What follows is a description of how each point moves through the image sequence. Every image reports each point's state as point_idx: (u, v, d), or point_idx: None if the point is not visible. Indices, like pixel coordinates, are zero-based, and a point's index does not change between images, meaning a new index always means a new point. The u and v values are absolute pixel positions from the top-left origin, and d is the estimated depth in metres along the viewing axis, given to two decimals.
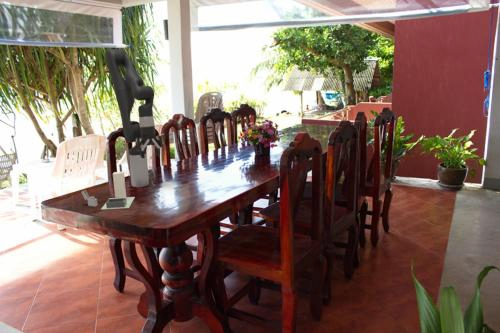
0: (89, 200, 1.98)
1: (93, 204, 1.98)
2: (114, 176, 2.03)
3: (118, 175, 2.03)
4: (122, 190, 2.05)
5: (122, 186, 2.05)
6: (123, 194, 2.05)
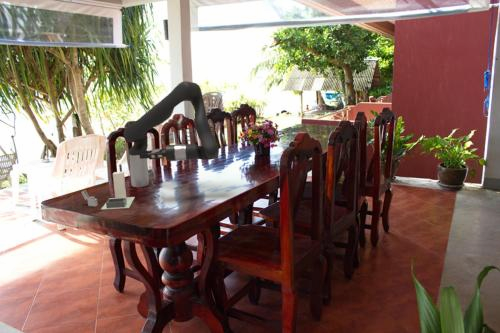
0: (89, 200, 1.98)
1: (93, 204, 1.98)
2: (114, 176, 2.03)
3: (118, 175, 2.03)
4: (122, 190, 2.05)
5: (122, 186, 2.05)
6: (123, 194, 2.05)
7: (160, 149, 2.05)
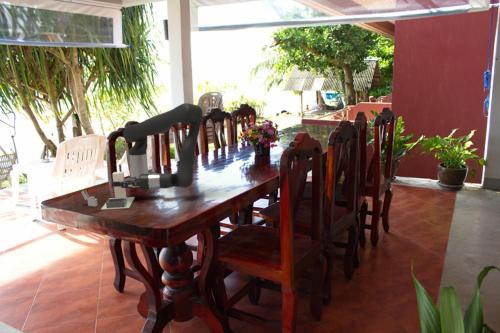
0: (89, 200, 1.98)
1: (93, 204, 1.98)
2: (114, 176, 2.03)
3: (118, 175, 2.03)
4: (122, 190, 2.05)
5: None
6: (123, 194, 2.05)
7: (135, 178, 2.07)
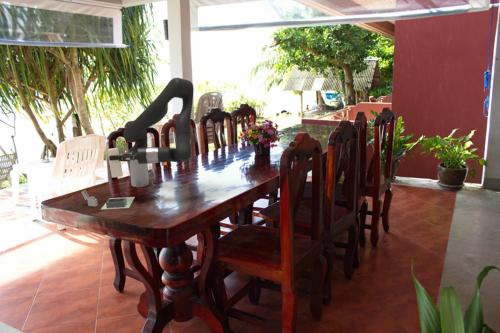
0: (89, 200, 1.98)
1: (93, 204, 1.98)
2: (108, 152, 2.00)
3: (113, 151, 2.00)
4: (118, 166, 2.01)
5: (117, 162, 2.01)
6: (119, 170, 2.02)
7: (133, 151, 2.03)
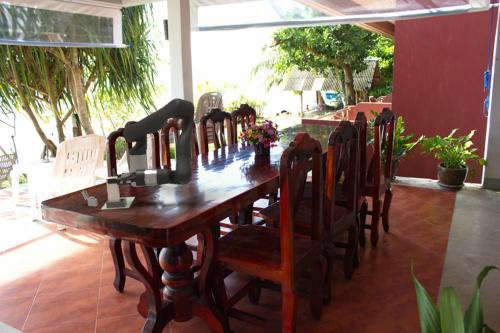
0: (89, 200, 1.98)
1: (93, 204, 1.98)
2: None
3: None
4: (116, 196, 1.95)
5: (116, 191, 1.95)
6: (117, 200, 1.96)
7: (130, 173, 1.96)
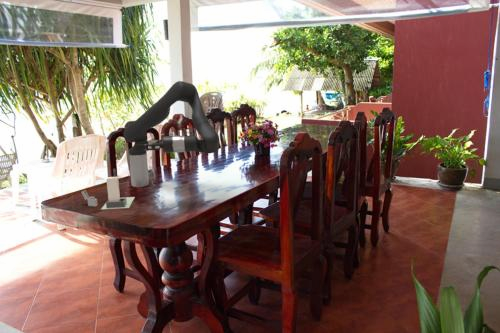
0: (89, 200, 1.98)
1: (93, 204, 1.98)
2: (108, 181, 1.93)
3: (112, 180, 1.94)
4: (116, 196, 1.95)
5: (116, 192, 1.95)
6: (117, 200, 1.96)
7: (157, 140, 1.94)
